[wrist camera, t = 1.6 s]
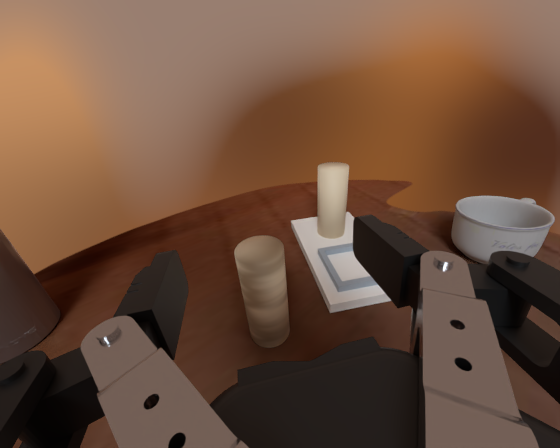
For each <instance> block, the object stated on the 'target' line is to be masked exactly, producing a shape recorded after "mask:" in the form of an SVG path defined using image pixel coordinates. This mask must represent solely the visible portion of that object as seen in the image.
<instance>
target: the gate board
mask: <svg viewBox="0 0 560 448" xmlns="http://www.w3.org/2000/svg"><path fill="white" fill-rule="evenodd" d="M348 174H349V165H347V164H345V163H339V162H328V163H323V164H320V165H319V166H318V217H312V218H305V219H299V220H292V221H291V227H292V229H293V232H294V234H295V236H296V238H297V240H298V243H299V245H300V247H301V249H302V252H303V254H304V256H305V258H306V261H307V263H308V265H309V267H310V270H311V272H312V274H313V276H314V278H315V281H316V283H317V285H318V287H319V290H320V292H321V294H322V296H323V299H324V301H325V303H326V305H327V307H328V310H329V312H330V313H333V312H338V311H343V310H348V309H353V308H357V307H362V306H367V305H372V304H377V303H382V302H387V301H391V299H390V298H389V297H388V296H387V295H386V294H385V292H384V291H383V290H382V289H381V288H380V286H379V285H378V284H377V283H376V282H375V281H374V279H373V278H372V277H371V276H370V275H369V274H368V272H367V271H366V270H365V269H364V268H363V266H362V265H361V264H360V263H359V262H358V261H357V259H356V258H355V255H354V252H353V221H354V217H353V216H352V215H351V214H350V213H349V212H346V203H347V189H348Z"/></svg>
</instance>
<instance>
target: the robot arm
mask: <svg viewBox="0 0 560 448" xmlns="http://www.w3.org/2000/svg"><path fill="white" fill-rule="evenodd" d="M353 252H354V255H355V258H356V259H357V261H358V262H359V263H360V264H361V265H362V266H363V268H364V269H365V270H366V271H367V272H368V274H369V275H370V276H371V277H372V278H373V279H374V281H375V282H376V283H377V284H378V285H379V286H380V288H381V289H382V290H383V291H384V292H385V294H386V295H387V296H388V297H389V298H390V299H391V301H392V302H393V303H394V304H395V305H396V307H397V308H401V307H405V306H409V305H410V306H411V307H412V314H411V331H410V351H409V353H408V352H405V351H402V350H398V349H393V348H385V347H380V346H379V345H378V343H377V342H376V340H375V339H374V337H369V338H365V339H361V340H357V341H353V342H349V343H345V344H341V345H339V346H338V347H336V348H334V349H332V350H330V351H328V352H327V353H325V354H323V355H321V356H319V357H318V358H316V359H314V360H311V361H272V362H268V363H264V364H260V365H256V366H252V367H248V368H244V369H240V370H238V383H236V384H235V385H233V386H231V387H230V388H228V389H227V390H225V391H224V392H223V393H222V394H220V395H219V396H218V397H217V398H216V399H215V400H214V401H213V402H212V403H211V404H210V405H209V404H208V403H207V402H206V401H205V399H204V398H203V397H202V396H201V395H200V393H199V392H198V391H197V390H196V389H195V387H194V386H193V385H192V384H191V383H190V381H189V380H188V379H187V378H186V376H185V375H184V374H183V373H182V372H181V370H180V369H179V368H178V367H177V366H176V364H175V363H174V362H173V361H172V360H174V358H175V353H176V348H177V343H178V339H179V334H180V329H181V324H182V320H183V315H184V310H185V305H186V301H187V296H188V283H187V279H186V276H185V273H184V270H183V267H182V264H181V261H180V258H179V255H178V253H177V251H176V250H172V251H167V252H161V253H157V254H156V255H155V257H154V259H153V261H152V263H151V265H150V266H149V267H145V268H144V269H143V270H141V271H140V272H139V273H138V274H137V275H136V276H135V278H134V280H133V282H132V283H131V286H130V287H129V289H128V291H127V294H125V296H124V298H123V300H122V302H121V304H120V305H119V307H118V309H117V311H116V313H115V315H114V317H113V318H111V319H109V320H106V321H104V322H102V323H101V324H99V325H98V326H96V327H95V328H94V329H92V330H91V331H90V332H89V333H88V334H87V335H86V337H85V338H84V340H83V341H82V344H81V347H80V348H77V349H75V350H73V351H70V352H68V353H66V354H64V355H61V356H59V357H57V358H54V359H52V360H50V359H49V358H48V356H47V355H46V354H45V353H44V352H43V351H30V352H26V351H27V350H29V349H30V348H32V347H33V346H35V345H36V344H37V343H39V342H40V341H41V340H43V339H44V338H45V337H46V336H47V335H48V334H49V333H50V332H51V331H52V329H53V328H54V327H55V326H56V324H57V322H58V321H59V318H60V310H59V309H58V307H57V306H56V304H55V303H54V302H53V300H52V299H51V298H50V296H49V295H48V293H47V292H46V291H45V289H44V288H43V286H42V285H41V284H40V282H39V281H38V280H37V278H36V277H35V275H34V274H33V273H32V271H31V270H30V269H29V267H28V266H27V265H26V263H25V262H24V261H23V259H22V258H21V257H20V255H19V254H18V252H17V251H16V250H15V248H14V247H13V246H12V244H11V243H10V241H9V240H8V239H7V237H6V236H5V235H4V233H3V232H2V231H1V229H0V364H1V363H4V362H5V363H4V364H2V365H0V448H12V447H13V446H14V444H15V442H16V440H17V439H18V438H19V439H20V440H21V441H22V443H21V445H20V447H19V448H80V445H81V443H82V440H83V438H84V435H85V432H86V430H87V427H88V425H89V424H91V423H92V422H94V421H96V420H98V419H100V418H102V417H103V416H106V418H107V421H108V423H109V425H110V428H111V430H112V432H113V435H114V437H115V439H116V442H117V444H118V446H119V448H560V431H559V430H557V429H555V428H553V427H551V426H549V425H547V424H546V423H544V422H542V421H540V420H538V419H536V418H534V417H532V416H530V415H529V414H527V413H525V412H523V411H521V410H519V409H518V407H517V404H516V401H515V397H514V394H513V390H512V387H511V384H510V380H509V377H508V373H507V370H506V366H505V363H504V360H503V356H502V353H501V349H502V350H503V351H504V352H506V353H507V354H508V355H509V356H510V357H511V358H512V359H513V360H514V361H515V362H516V363H517V364H518V365H519V366H520V367H521V368H522V369H523V370H524V371H526V372H527V373H528V374H529V375H530V376H531V377H532V378H533V379H534V380H535V381H536V382H537V383H538V384H539V385H540V386H541V387H542V388H543V389H545V390H546V391H547V392H548V393H549V394H550V395H551V396H552V397H553V398H554V399H555V400H556V401H557V402H558V403H559V404H560V342H559V341H557V340H556V339H555V338H553V337H552V336H551V335H549V334H548V333H547V332H545V331H544V330H543V329H541V328H540V327H539V326H537V325H536V324H535V323H533V322H532V321H531V320H529V319H528V318H527V314H528V312H529V310H530V307H531V305H533V306H534V307H536V308H537V309H539V310H540V311H541V312H543V313H544V314H546V315H547V316H549V317H550V318H551V319H553V320H554V321H555V322H557V323H558V325H559V326H560V271H559V270H557V269H555V268H553V267H551V266H549V265H547V264H546V263H544V262H542V261H540V260H538V259H536V258H534V257H532V256H529V255H526V254H523V253H519V252H514V251H497V252H494V253H492V254H491V256H490V259H489V262H488V264H467V263H466V261H465V260H463V259H462V258H461V257H459V256H457V255H454V254H452V253H448V252H443V251H429V250H427V249H426V248H425V247H423V246H422V245H420V244H419V243H418V242H416V241H415V240H413V239H412V238H409V236H408V235H406V234H405V233H403V232H402V231H401V230H399V229H398V228H396V227H395V226H392V225H390V224H387V223H383V222H381V221H380V220H379V219H377V218H376V217H375V216H373V215H366V216H360V217H355V218H354V221H353ZM500 348H501V349H500ZM24 352H26V353H24ZM22 353H23V354H22ZM8 360H9V361H8ZM6 361H7V362H6Z"/></svg>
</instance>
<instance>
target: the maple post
mask: <svg viewBox="0 0 560 448" xmlns="http://www.w3.org/2000/svg"><path fill="white" fill-rule="evenodd" d="M234 254H235V259H236V264H237V269H238V274H239V279H240V284H241V289H242V294H243V299H244V304H245V309H246V314H247V319H248V324H249V329H250V334H251V338H252V340H253V341H254V342H255V343H256V344H257V345H259V346H261V347H265V348H272V347H276V346H279V345H280V344H282V343H283V342H284V341H285V340H286V339H287V338H288V336H289V333H290V323H289V310H288V297H287V284H286V270H285V257H284V246H283V243H282V242H281V241H280V240H279V239H277V238H275V237H271V236H254V237H251V238H248V239H246V240H244V241H242V242H241V243H239V244H238V245H237V247H236V248H235V251H234Z"/></svg>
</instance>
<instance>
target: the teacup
mask: <svg viewBox="0 0 560 448" xmlns="http://www.w3.org/2000/svg"><path fill="white" fill-rule="evenodd" d="M554 221H555V218H554V216H553V215H552V214H551V213H550V212H549V211H548V210H546V209H544V208H542V207H540V206H537V205H536V202H535V201H534V200H533V199H529V198H522V199H521V200H517V199H513V198H506V197H499V196H474V197H468V198H464V199H461V200H459V201H458V202H457V203H456V211H455V215H454V220H453V225H452V232H451V236H452V241H453V243H454V244H455V246H456V247H457V248H458V249H459V250H460V251H461V252H462V253H463V254H464V255H466V256H467V257H469V258H470V259H472V260H474V261H476V262H479V263H482V264H488V262H489V259H490V256H491V254H492V253H494V252H497V251H514V252H519V253H523V254H526V255H529V256H532V257H534V256H535V255H536V253H537V252H538V251H539V249H540V247H541V245H542V244H543V242H544V240H545V237H546V235H547V233H548V231H549V228H550V226H551V225H552V224H553V223H554Z"/></svg>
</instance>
